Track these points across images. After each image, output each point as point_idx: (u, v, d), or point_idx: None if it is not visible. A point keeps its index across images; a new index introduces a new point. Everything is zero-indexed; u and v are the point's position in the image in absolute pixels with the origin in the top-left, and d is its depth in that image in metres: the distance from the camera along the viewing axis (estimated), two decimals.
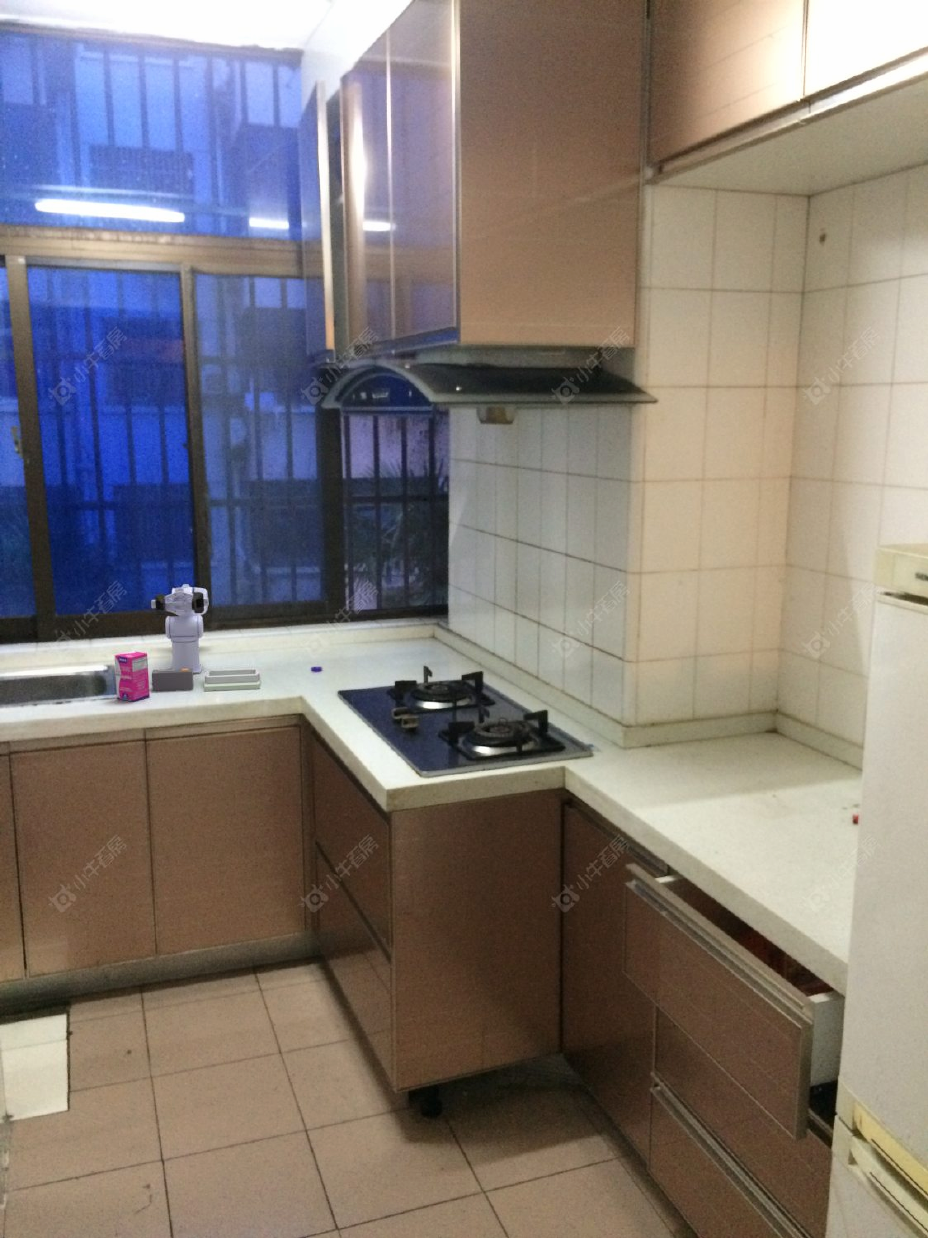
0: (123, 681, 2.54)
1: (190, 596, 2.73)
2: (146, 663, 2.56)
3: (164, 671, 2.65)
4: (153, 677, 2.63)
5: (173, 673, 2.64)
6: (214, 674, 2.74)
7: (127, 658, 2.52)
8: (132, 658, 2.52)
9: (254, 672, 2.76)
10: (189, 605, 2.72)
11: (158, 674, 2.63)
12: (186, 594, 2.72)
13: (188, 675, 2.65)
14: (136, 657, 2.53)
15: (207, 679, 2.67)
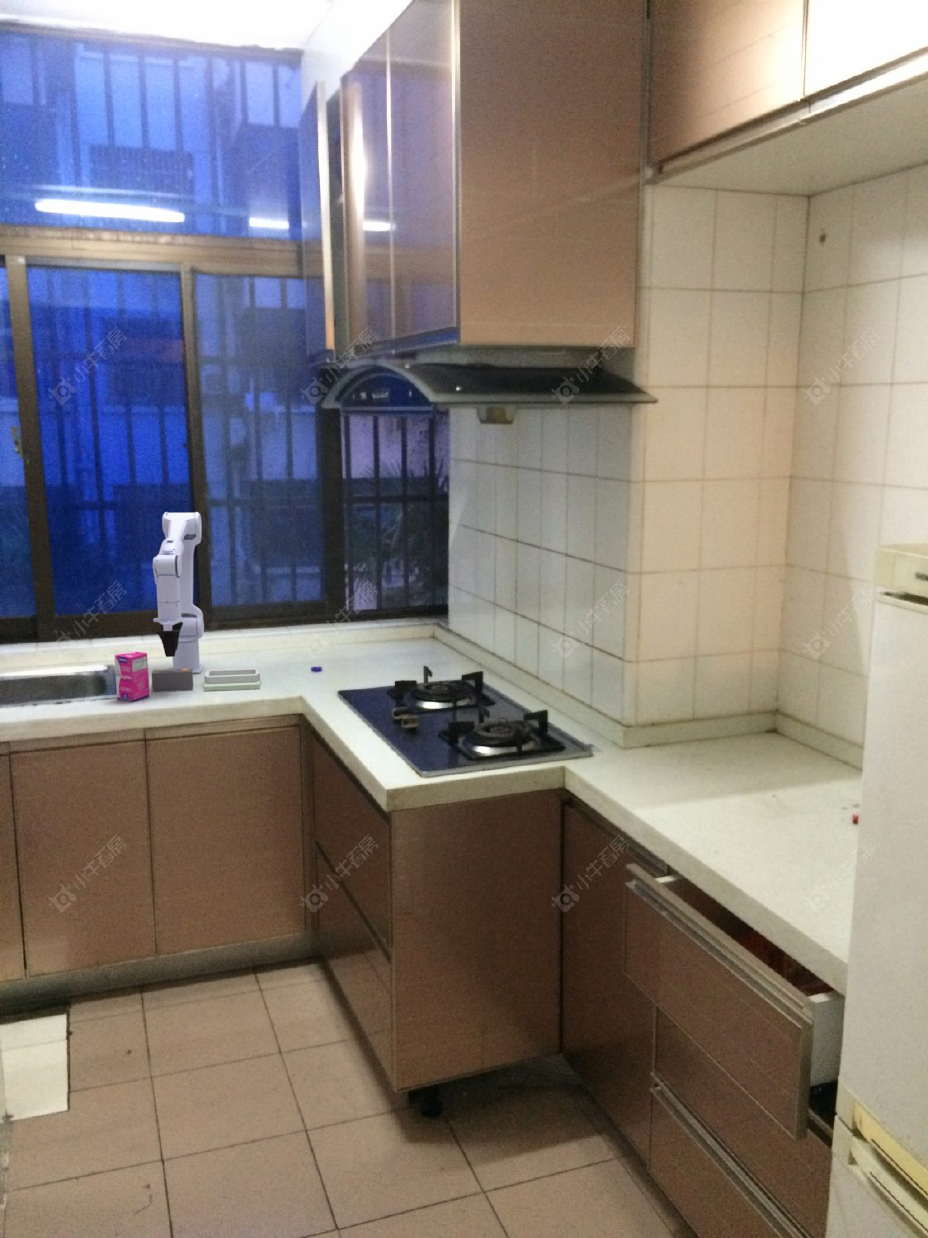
0: (123, 681, 2.54)
1: None
2: (146, 663, 2.56)
3: (164, 671, 2.65)
4: (153, 677, 2.63)
5: (173, 673, 2.64)
6: (214, 674, 2.74)
7: (127, 658, 2.52)
8: (132, 658, 2.52)
9: (254, 672, 2.76)
10: None
11: (158, 674, 2.63)
12: None
13: (188, 675, 2.65)
14: (136, 657, 2.53)
15: (207, 679, 2.67)
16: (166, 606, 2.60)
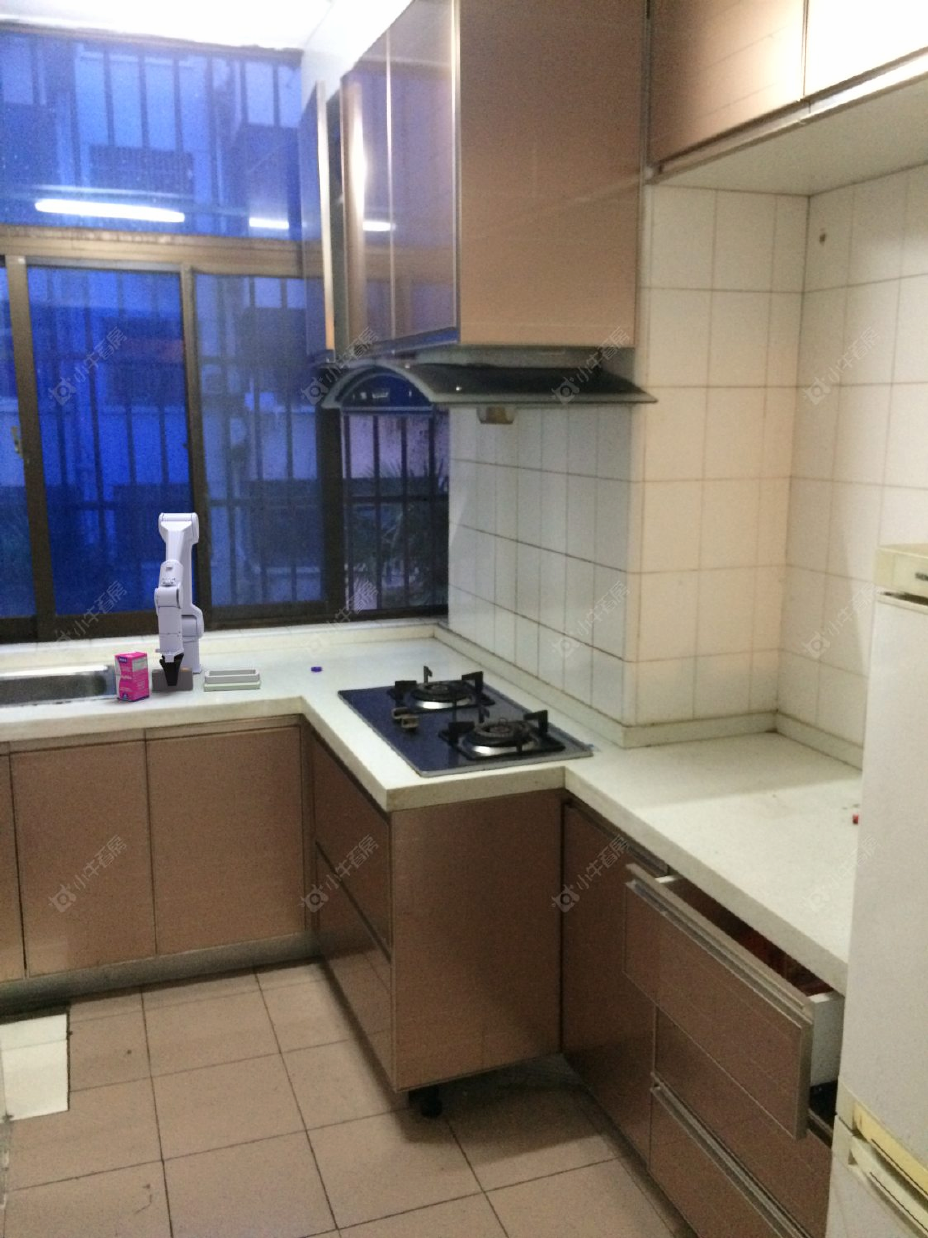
0: (123, 681, 2.54)
1: None
2: (146, 663, 2.56)
3: None
4: (153, 676, 2.63)
5: None
6: (214, 674, 2.74)
7: (127, 658, 2.52)
8: (132, 658, 2.52)
9: (254, 672, 2.76)
10: None
11: (158, 673, 2.63)
12: None
13: (188, 674, 2.65)
14: (136, 657, 2.53)
15: (207, 679, 2.67)
16: (168, 637, 2.61)
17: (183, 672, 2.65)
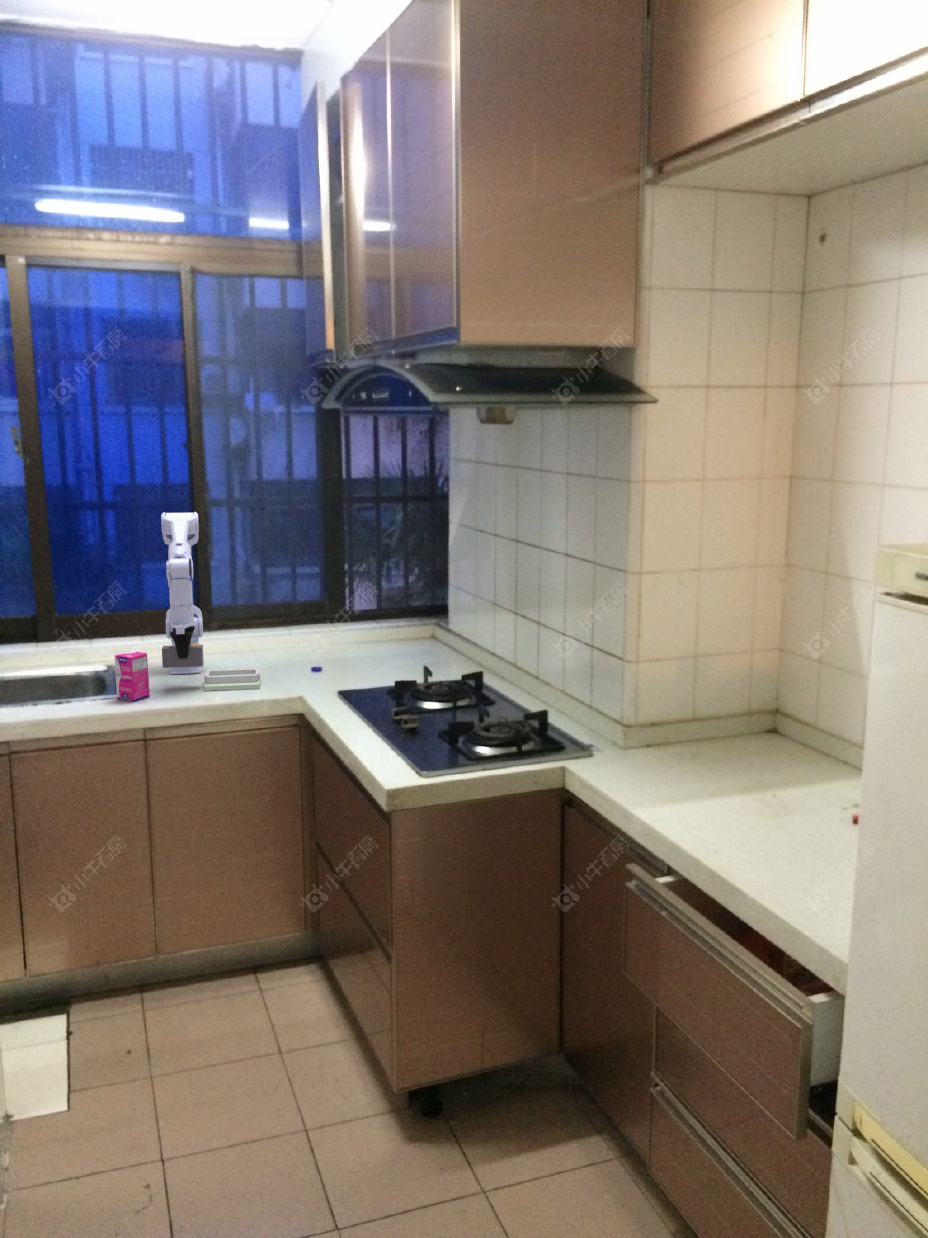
0: (123, 681, 2.54)
1: None
2: (146, 663, 2.56)
3: (174, 647, 2.65)
4: (163, 652, 2.63)
5: None
6: (214, 674, 2.74)
7: (127, 658, 2.52)
8: (132, 658, 2.52)
9: (254, 672, 2.76)
10: None
11: (168, 649, 2.63)
12: None
13: (198, 651, 2.65)
14: (136, 657, 2.53)
15: (207, 679, 2.67)
16: (178, 609, 2.61)
17: (193, 648, 2.65)
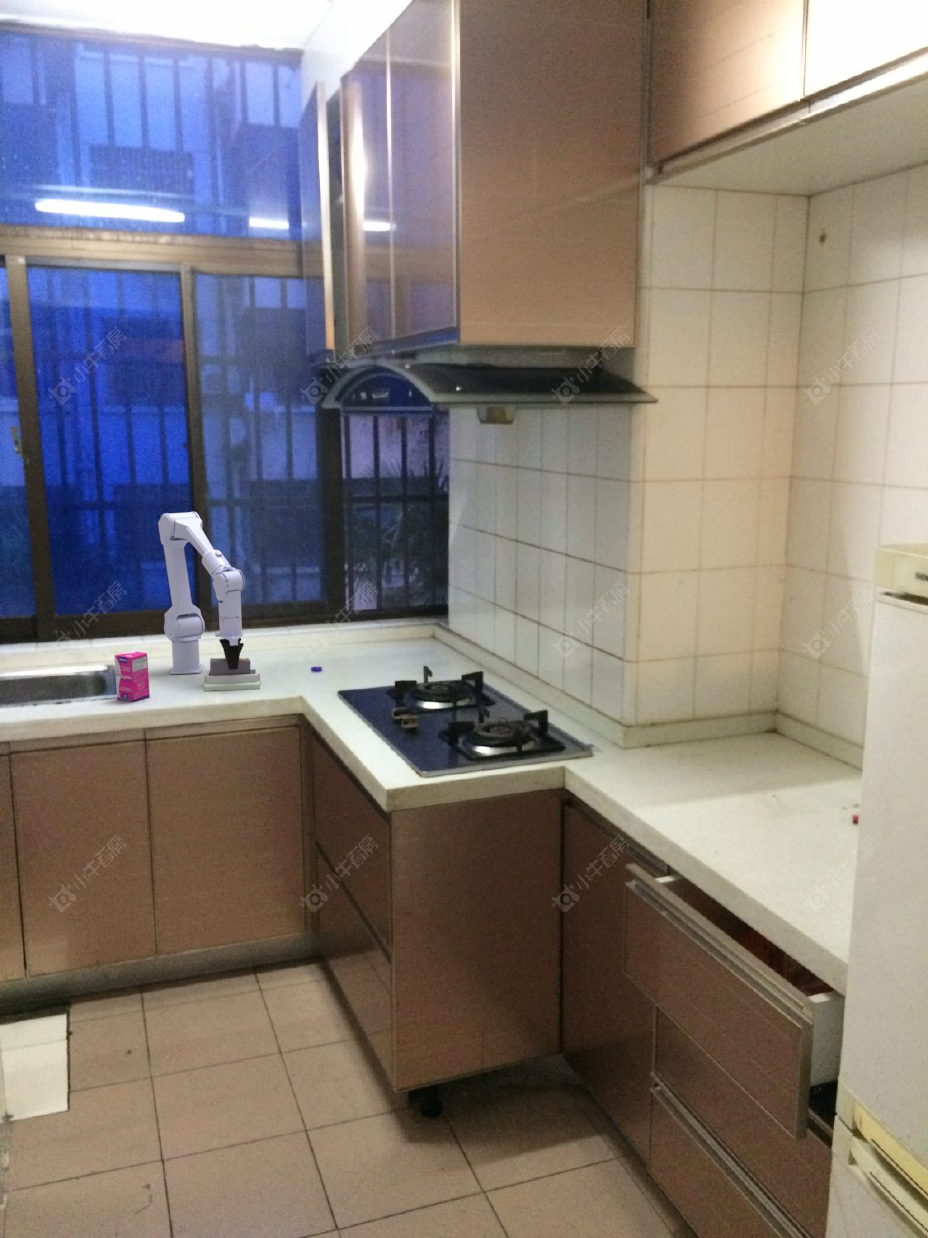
0: (123, 681, 2.54)
1: None
2: (146, 663, 2.56)
3: (223, 660, 2.70)
4: (213, 665, 2.68)
5: None
6: None
7: (127, 658, 2.52)
8: (132, 658, 2.52)
9: (254, 672, 2.76)
10: None
11: (218, 662, 2.68)
12: None
13: (246, 664, 2.71)
14: (136, 657, 2.53)
15: (207, 679, 2.67)
16: (229, 621, 2.67)
17: (242, 662, 2.70)
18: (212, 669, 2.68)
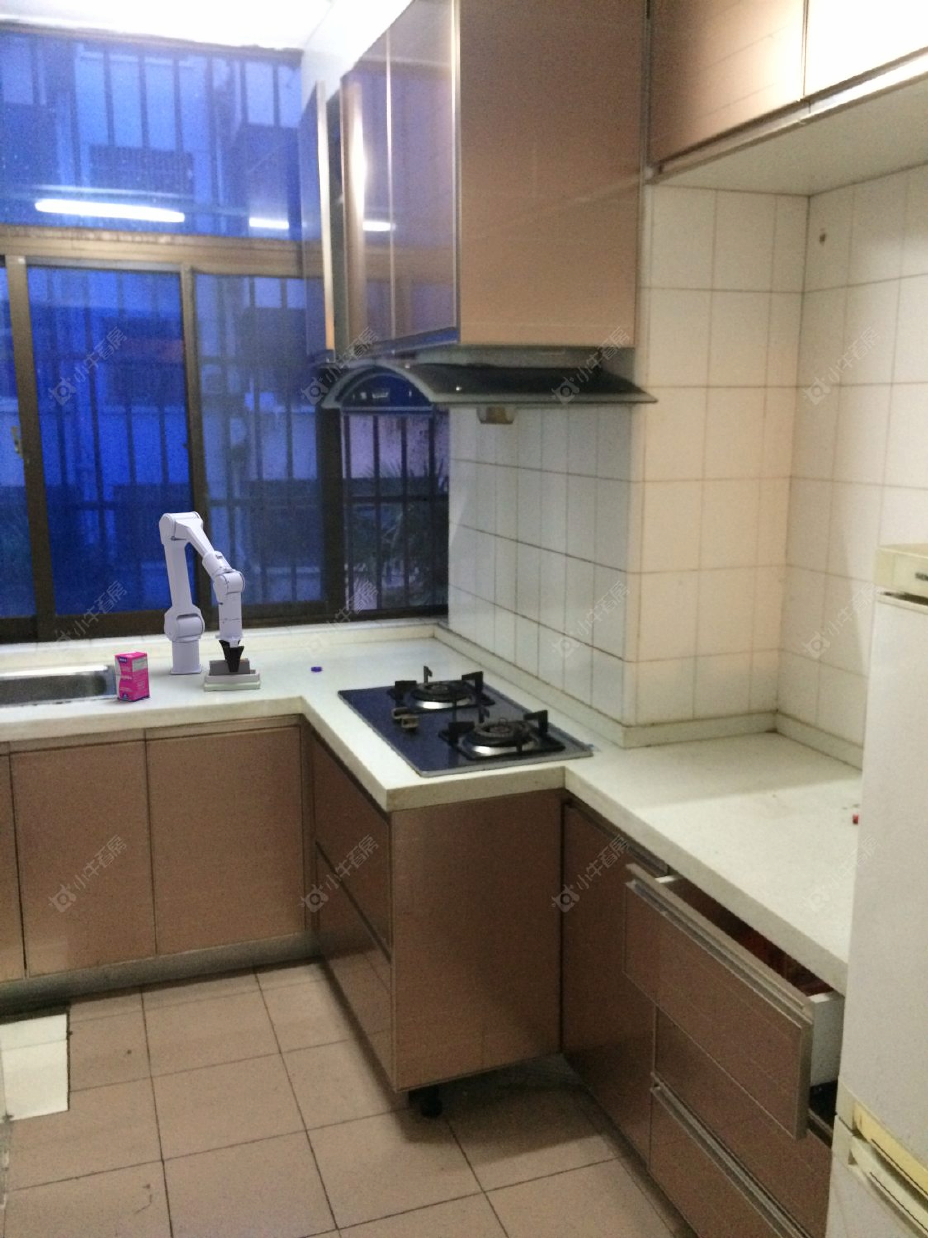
0: (123, 681, 2.54)
1: None
2: (146, 663, 2.56)
3: (222, 661, 2.70)
4: (212, 667, 2.68)
5: None
6: None
7: (127, 658, 2.52)
8: (132, 658, 2.52)
9: (254, 672, 2.76)
10: None
11: (217, 664, 2.68)
12: None
13: (245, 664, 2.71)
14: (136, 657, 2.53)
15: (207, 679, 2.67)
16: (229, 623, 2.67)
17: (241, 662, 2.70)
18: (212, 671, 2.68)
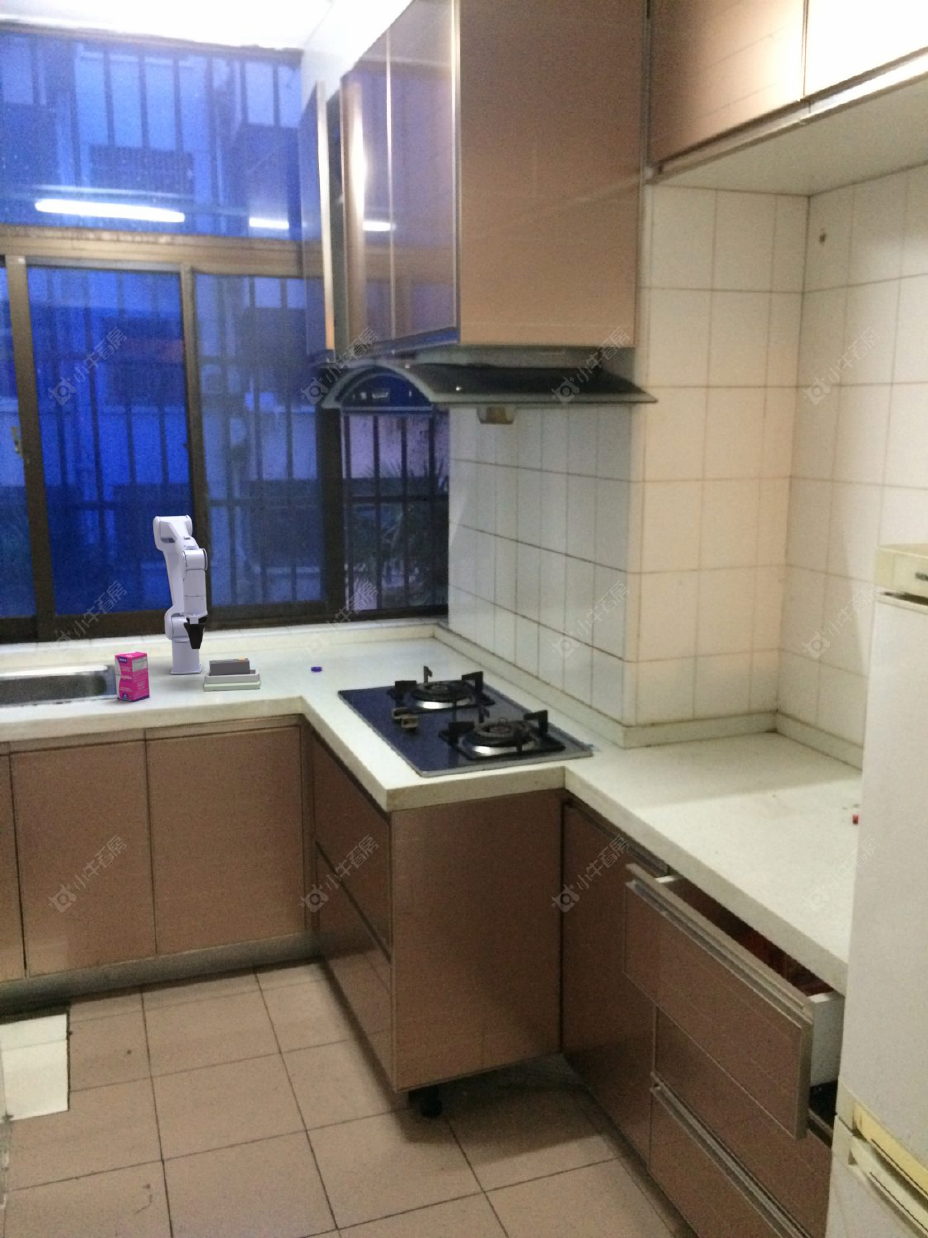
0: (123, 681, 2.54)
1: None
2: (146, 663, 2.56)
3: (222, 661, 2.70)
4: (212, 667, 2.68)
5: (231, 663, 2.69)
6: None
7: (127, 658, 2.52)
8: (132, 658, 2.52)
9: (254, 672, 2.76)
10: None
11: (217, 664, 2.68)
12: (186, 616, 2.68)
13: (245, 664, 2.71)
14: (136, 657, 2.53)
15: (207, 679, 2.67)
16: (192, 600, 2.67)
17: (241, 662, 2.70)
18: (212, 671, 2.68)
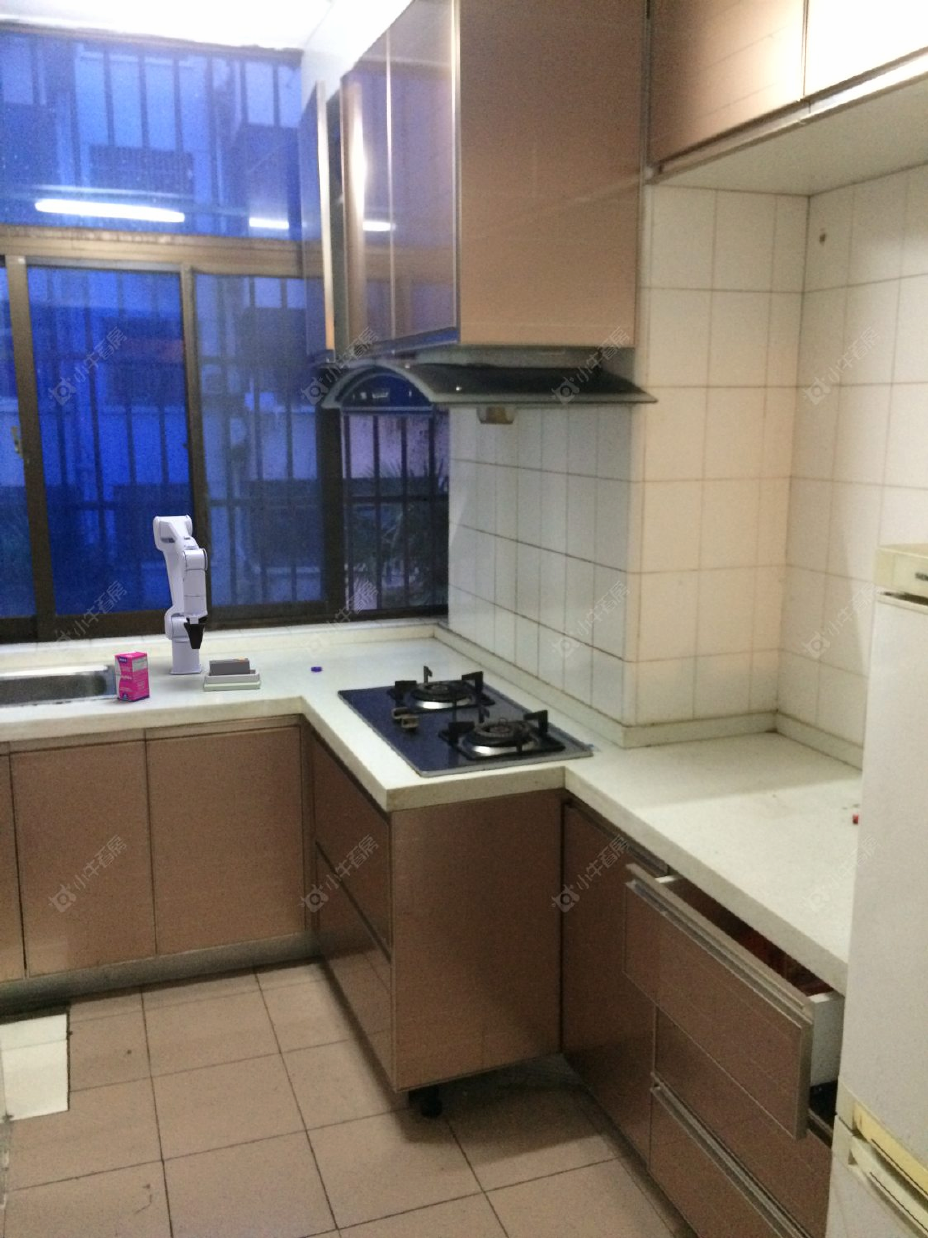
0: (123, 681, 2.54)
1: None
2: (146, 663, 2.56)
3: (222, 661, 2.70)
4: (212, 667, 2.68)
5: (231, 663, 2.69)
6: None
7: (127, 658, 2.52)
8: (132, 658, 2.52)
9: (254, 672, 2.76)
10: None
11: (217, 664, 2.68)
12: (186, 616, 2.68)
13: (245, 664, 2.71)
14: (136, 657, 2.53)
15: (207, 679, 2.67)
16: (192, 600, 2.67)
17: (241, 662, 2.70)
18: (212, 671, 2.68)
